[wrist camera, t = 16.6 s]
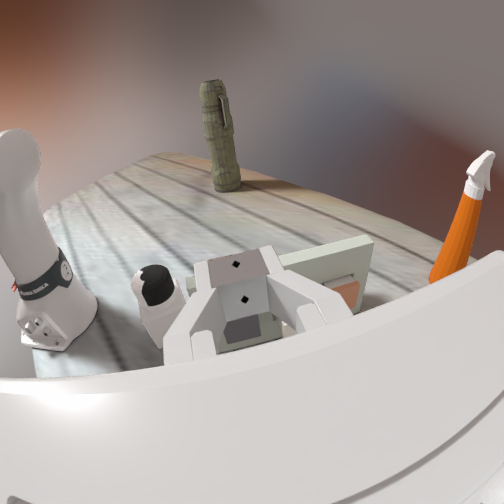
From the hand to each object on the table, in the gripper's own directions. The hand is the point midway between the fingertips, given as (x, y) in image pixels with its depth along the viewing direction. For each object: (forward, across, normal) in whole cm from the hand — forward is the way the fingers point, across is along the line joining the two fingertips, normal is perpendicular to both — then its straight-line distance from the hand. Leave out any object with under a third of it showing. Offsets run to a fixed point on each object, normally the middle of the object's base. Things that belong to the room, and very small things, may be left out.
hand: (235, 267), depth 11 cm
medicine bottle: (+22, -11, -28) cm, 37 cm away
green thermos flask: (+74, +7, -28) cm, 80 cm away
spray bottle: (+14, +41, -28) cm, 52 cm away
